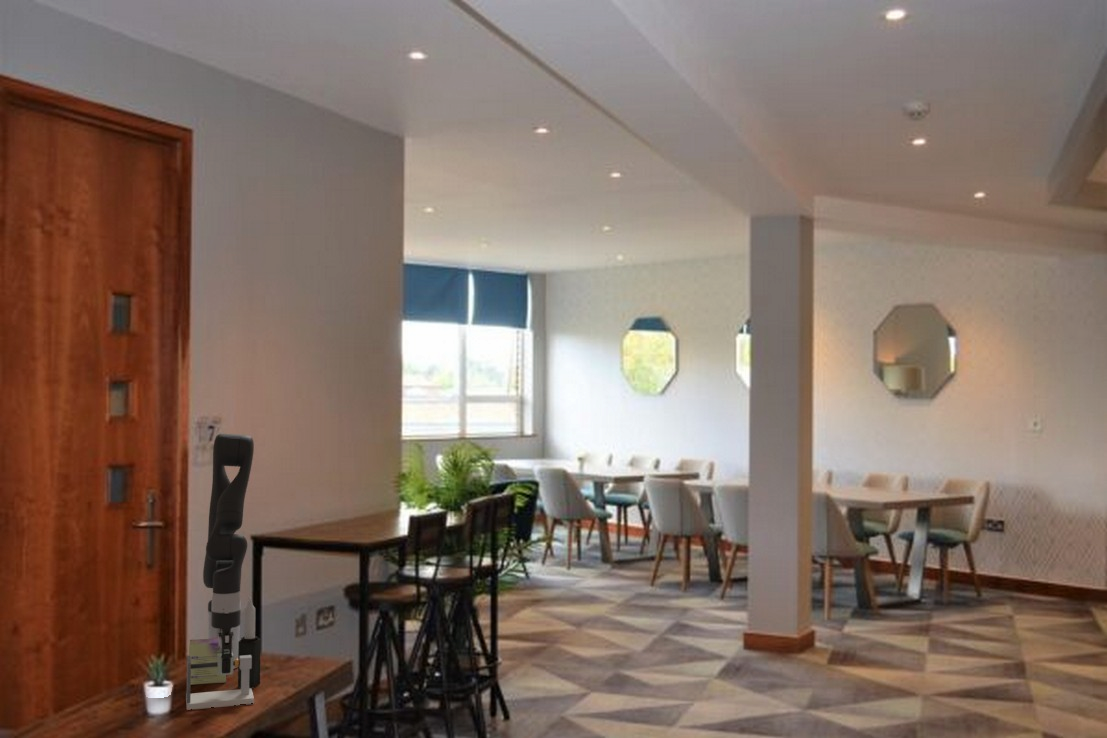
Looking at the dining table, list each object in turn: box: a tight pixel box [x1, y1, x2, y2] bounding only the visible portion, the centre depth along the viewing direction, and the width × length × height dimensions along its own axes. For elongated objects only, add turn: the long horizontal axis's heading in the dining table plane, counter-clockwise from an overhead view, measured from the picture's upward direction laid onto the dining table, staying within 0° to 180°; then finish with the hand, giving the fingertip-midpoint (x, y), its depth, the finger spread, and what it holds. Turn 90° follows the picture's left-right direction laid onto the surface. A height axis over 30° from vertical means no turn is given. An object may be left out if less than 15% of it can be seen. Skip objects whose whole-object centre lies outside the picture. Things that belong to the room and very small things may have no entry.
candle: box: [237, 596, 262, 689], centre depth 298 cm, size 5×5×25 cm
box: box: [188, 638, 227, 686], centre depth 302 cm, size 10×6×12 cm, turn 108°
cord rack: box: [185, 655, 255, 711], centre depth 282 cm, size 10×17×12 cm, turn 110°
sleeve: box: [217, 652, 234, 676], centre depth 282 cm, size 4×4×5 cm
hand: (225, 669), depth 282 cm, fingers open, 8 cm apart
